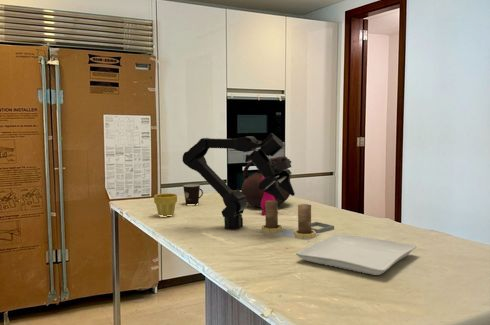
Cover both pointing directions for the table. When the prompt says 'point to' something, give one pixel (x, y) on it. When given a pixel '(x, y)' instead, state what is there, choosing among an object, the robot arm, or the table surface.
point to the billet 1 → (271, 214)
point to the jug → (251, 186)
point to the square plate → (356, 253)
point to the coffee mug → (192, 193)
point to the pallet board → (288, 233)
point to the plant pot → (165, 203)
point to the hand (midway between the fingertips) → (289, 197)
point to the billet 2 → (304, 219)
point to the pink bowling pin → (266, 198)
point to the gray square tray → (327, 226)
